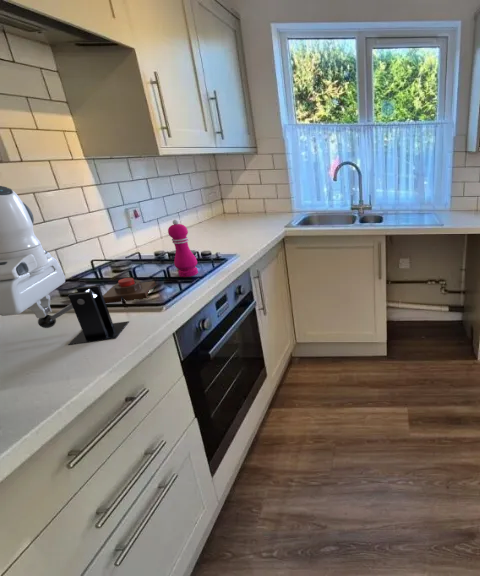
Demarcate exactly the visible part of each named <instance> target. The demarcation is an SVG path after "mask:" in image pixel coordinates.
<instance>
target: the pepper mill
mask: <svg viewBox="0 0 480 576" xmlns="http://www.w3.org/2000/svg"><path fill="white" fill-rule="evenodd" d="M188 234H189V230H188V228H187V226H186V225H184V224H182V223H179V220H178V219H173V220H172V224H171V225H170V226H169V227H168V228H167V235H168V236H169V237H170V238H172V239H171V241H172V244H173V245H174V249H175V254H174V259H173V260H174V261H173V263H174V266H175V268H176V269H178V271H177V273H178V276H179V277H180V278H189V277H194V276H196V275H198V274H199V270H198V267H196V266H197V265H198V259H197V257H196V256H195V254H194V253H193V252H192V250H191V249H190V246H189V243H188V242H189V237H188Z"/></svg>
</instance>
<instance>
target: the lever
mask: <svg viewBox="0 0 480 576" xmlns="http://www.w3.org/2000/svg"><path fill="white" fill-rule="evenodd" d="M90 291H92V290H91V289H88V290H86V291H84V292H90ZM92 294H93V296H94V298H96V297H97V295H96V294H95V293H94V292H93V291H92ZM71 310H73V306H72V304H71V303H70V304H68V305H67V306H65V307H63V308H62V309H60V310H59V311H57V312H55V313H54V314H52V315H51V314H48V315H47V316H46V317H44V318H37V324H38V326H39V327H41V328H43V329H51V328H53V327H54V326H55V325H56V323H57V319H58V318H60V317H61V316H62V315H63V316H64V314H66V313H68V312H70V311H71Z"/></svg>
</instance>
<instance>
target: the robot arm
mask: <svg viewBox="0 0 480 576" xmlns="http://www.w3.org/2000/svg"><path fill="white" fill-rule="evenodd" d="M34 223H35V218H34V214H33V212H32V210H31V209H30V208H29V206H28V205H27V204H26V203H25V202H24V201H22V199H21V197H20V196H19V195H18V194H17V193H16V191H14V190H13V189H12V188H10V187H7V186H3V185H0V316H2V317H7V316H14V315H20V314H22V313H23V312H24V311H26V310H30V311H31V312H33V313H34V315H35V317H36V318H37V319H39V318H44V317H46V316H47V315H50V314H51V313H52V312H53V310H52V308H51V296H50V294H51V293H52V292H53V291H55V290H57V288H59V287H61V286H62V285H63V284H65V283H66V275H65V274H64V271H63V269H62V266H61V265H60V263H59V261H58V260H57V259H56V258H55V257H53V256H52V254H51V253H50V252H48V251H47V250H45V249H44V248H43V245H42V243H41V241H40V239H39V238H38V237H37V236H36V234H35V232H34Z"/></svg>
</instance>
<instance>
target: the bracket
mask: <svg viewBox="0 0 480 576" xmlns="http://www.w3.org/2000/svg"><path fill="white" fill-rule="evenodd" d="M88 289H91V290H92V291H93V292H94V293H95V294H96V295H97V297H96V298H94V296H93V294H92V291H90V292H84V291H86V290H88ZM76 291H77V292H73V293H69V294H68V299H69V301H70V304H72V306H73V308H72V310H73V311H74V313H75V316H76V318H77V321H78V323H79V326H80V328H81V331H80V332H79V333H78V334H77V335H76V336H75V337H74V338H73V339H72V340H71V341H70V342H69V343H68V344H67V346H74V345H80V344H81V345H82V344H88V343H96V342H102V341H109V340H116V339H117V338H118V337H119V336H120V334H121V333H122V332H123V331H124V329H125V328H126V327H127V326H128V324H129V323H130V321H129V320H128V321H119V322H114V321H113V319H112V317H111V313H110V311H109V309H108V305H107V303H105V300H104V297H103V295H104V294H103V292H102V290H101V287H100V285H99V284H97V285H87V286H79V287H77V288H76Z"/></svg>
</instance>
